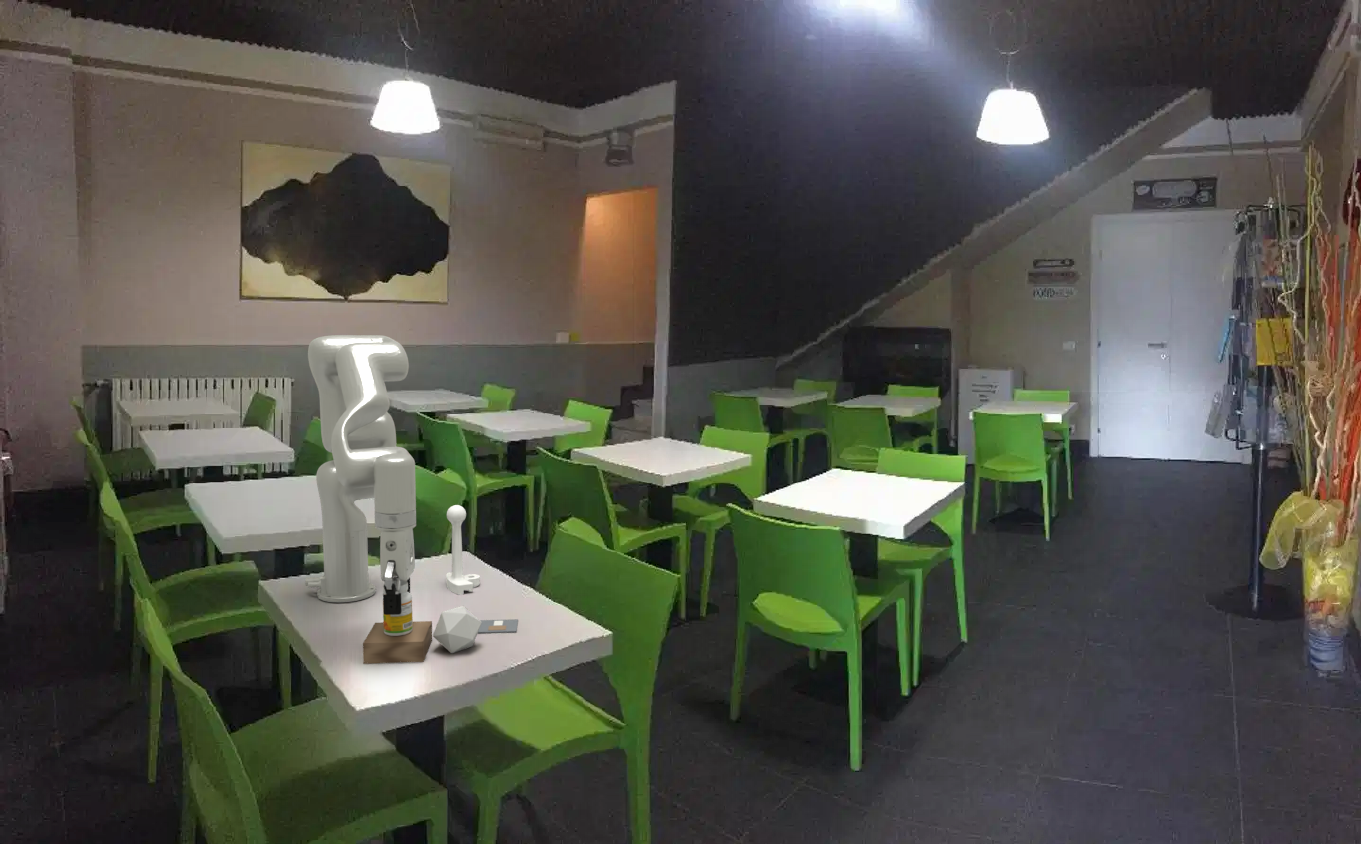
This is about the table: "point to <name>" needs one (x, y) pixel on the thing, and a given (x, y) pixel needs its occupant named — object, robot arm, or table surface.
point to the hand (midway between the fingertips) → (397, 605)
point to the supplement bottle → (400, 615)
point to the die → (457, 629)
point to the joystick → (458, 555)
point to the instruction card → (498, 626)
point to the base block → (397, 644)
